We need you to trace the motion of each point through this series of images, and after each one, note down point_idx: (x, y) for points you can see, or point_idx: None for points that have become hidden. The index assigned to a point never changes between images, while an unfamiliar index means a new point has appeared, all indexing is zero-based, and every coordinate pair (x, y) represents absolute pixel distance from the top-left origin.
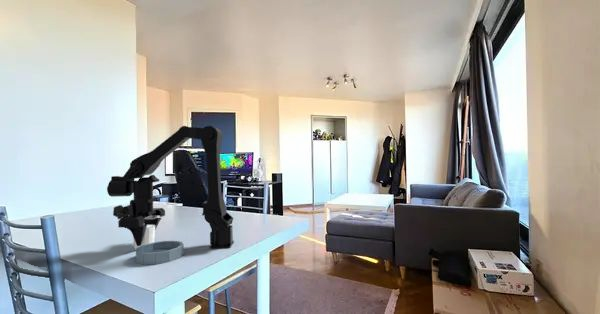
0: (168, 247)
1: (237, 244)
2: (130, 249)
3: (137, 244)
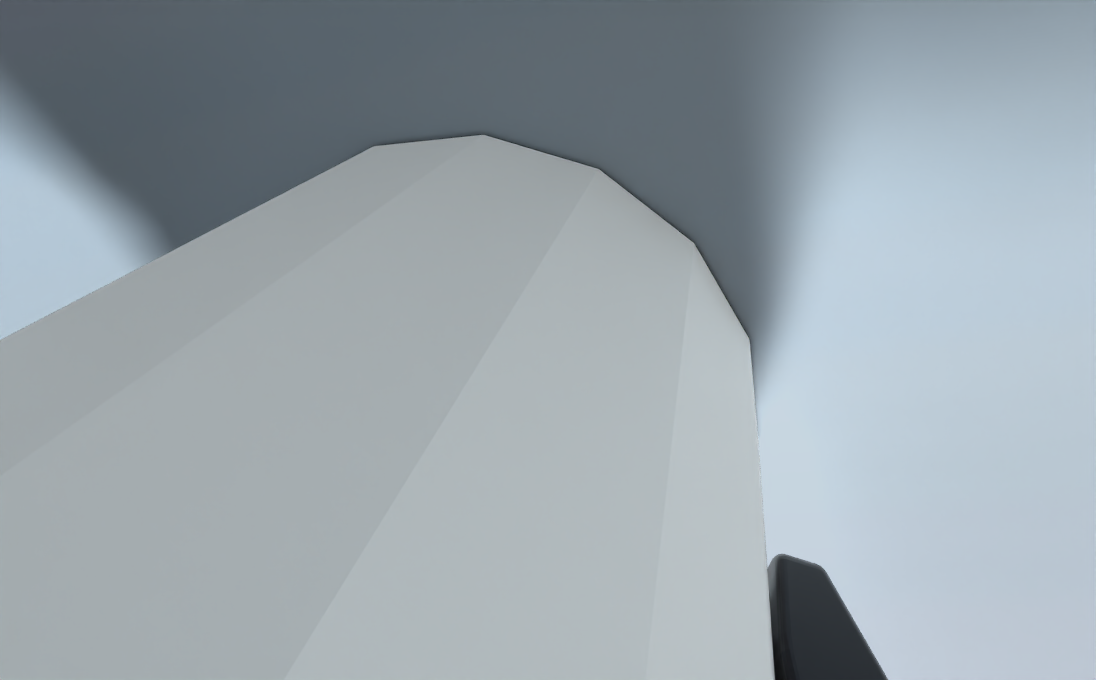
0: None
1: None
2: (355, 15)
3: None
